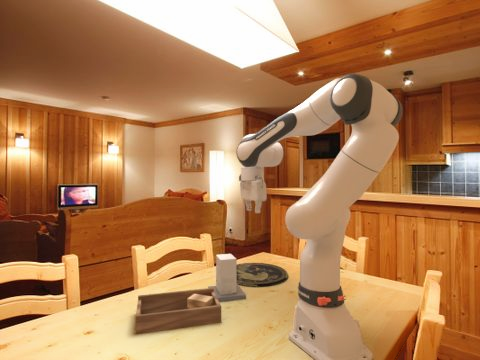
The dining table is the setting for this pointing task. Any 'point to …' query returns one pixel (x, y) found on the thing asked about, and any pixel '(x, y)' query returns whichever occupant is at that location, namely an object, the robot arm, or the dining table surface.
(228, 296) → the plate
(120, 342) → the dining table surface
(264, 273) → the decorative plate
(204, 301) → the offcut upper
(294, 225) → the robot arm
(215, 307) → the tray
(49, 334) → the dining table surface
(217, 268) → the small box
